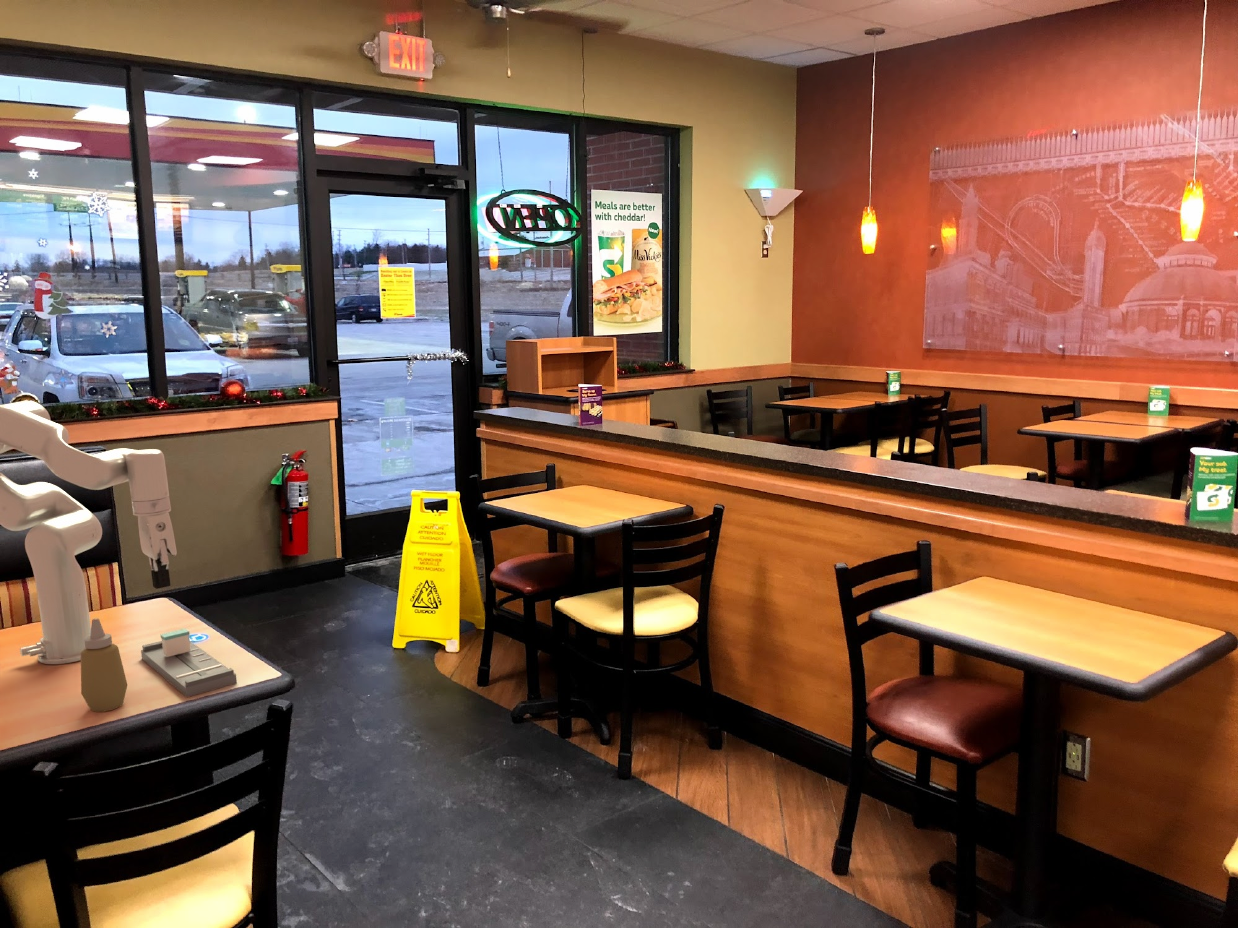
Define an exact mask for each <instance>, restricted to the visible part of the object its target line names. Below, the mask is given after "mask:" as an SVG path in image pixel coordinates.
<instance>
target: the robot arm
mask: <svg viewBox="0 0 1238 928" xmlns="http://www.w3.org/2000/svg"><path fill="white" fill-rule="evenodd" d="M69 441H70V434H69V431H68V429H67V428H66V427H65V426H64V425H62V424H60V423H56V422H54V421H52V420H51V416H50V413H49V412H48V410H47V409H46V408H45V407H44V406H43V405H41V404H40V403H38V402H35V401H29V400H25V401H24V400H23V401H16V402H11V403H2V404H0V454H3V453H5V452H7V451H11V450H12V449H14V450H16V451H19V452H22V453H24V454H26V455H29V456H31V457H33V458H36V459H39V460H41V461H43V462H44V464H45V466H46V467H47V468H48V469H49V470H50V471H51V473H53V474H54V475H55V476H56V477H58V478H59V479H61V480H63V481H66V482H68V483H71V484H73V485H76V486H78V487H81V488H84V489H88V490H92V491H93V490H94V491H96V490H97V491H99V490H105V489H107V488H110V487H112V486H117V485H120V484H123V483H126V482H127V483H128V486H129V492H130V498H131V499H130V500H131V507H132V515H133V516H135V517H137V522H138V524H137V526H138V533H139V543H140V548H141V552H142V554H144V555H145V556H147V557H148V560H149V561H148V562H149V566H150V569H151V570H150V573H151V581H152V586H153V588H154V589H156V590H158V589H162V588H168V587H170V586H171V578H170V577H171V576H170V571H169V564H170V560H169V556H168V555H170V556H172V557H175V556H177V554H178V552H177V546H176V539H175V535H174V533H175V532H174V529H173V525H172V520H171V517H170V512H171V511H172V507H171V500H170V491H169V490H170V489H169V484H168V483H169V482H168V475H167V468H166V460H165V455H164V453H163V452H162V450H160V449H157V448H155V449H154V448H152V449H151V448H149V449H148V448H147V449H139V450H138V449H131V448H114V449H110V450H105V451H103V452H98V453H95V454H91V453H87V452H84V451H81V450H79V449H77V448H74V447H73V446H71V445H69ZM0 526H2V527H3V528H4V529H7V530H9V531H13V532H18V531H19V532H20V531H24V530H27V529H30V528H31V529H30V530H29V531H28V532H27V533H26V537H25V539H24V548H25V552H26V554H27V557H28V560H29V562H30V565H31V568H32V572H33V576H34V581H35V589H36V595H37V601H38V602H37V603H38V607H39V614H40V615H39V616H40V623H41V629H42V631H41V632H42V636H43V637H40V638H39V640H40V641H39V642H35V644H33V645H27V646H23V647H20V648H19V649H20V651H19V652H20V655H21V657H24V656H29V657H34V656H37V659H38V662H39V663H41V664H46V665H63V664H69V663H75V662H79V661H80V662H81V652H82V651H83V650H84V649H85V648H86V647H85V641H84V640H85V639H86V638H87V637H89V636H90V634H91V625H92V623H91V617H90V610H89V602H88V594H87V589H86V588H87V587H86V581H85V575H84V572H83V569H82V568H81V566H80V564H79V563H78V561H77V559H76V557H75V556H77V555H79V554H81V553H83V552H85V551H88V550H90V549H93V548H94V547H95V546H97V545H98V543H100V541H101V539H102V537H103V536H102V535H103V528H102V524H101V522H100V521H99V519H98V518H97V517H96V515H95V513H94V514H93V513H92V511H90V510H89V509H88V508H86V507H85V506H84V505H83V504H82V503H80V502H79V501H78V500H76V499H75V498H73V497H72V496H71V495H69V493H67V492H66V491H64V490H63V489H62V488H61V487H59V486H57V485H55V484H52V483H50V482H49V483H48V482H47V481H46V482H45V481H36V482H35V481H34V482H31V483H28V484H22V485H21V484H17V483H16V482H14V481H13V480H11V479H10V478H8V477H7V476H6V475H5V474H3V473H2V472H1V471H0Z"/></svg>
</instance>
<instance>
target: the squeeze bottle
mask: <svg viewBox="0 0 1238 928" xmlns="http://www.w3.org/2000/svg"><path fill="white" fill-rule="evenodd" d="M101 623H102V622H101V621H100V619H99V618H92V620H91V634H90V636H89V637H87V638H86V639H85V640H84V641H85V647H86V648H85V649H84V650H83V651H82V652H81V660H80V682H81V683H80V690H81V692H80V693H81V696H82V697H83V699H84V700H85V703H86V704H87V706H88V709H89V710H90V711H91V712H94V713H96V712H97V713H102V712H108V711H112V710H115V709H117V708H120V707H121V706H122V705H123V703H124V701H125V697H126V692H127V689H128V681H127V677H126V674H125V670H124V669H125V668H124V665H123V662H122V661H123V660H122V658H121V653H120V649H119V647H118V645H117V644H115V643H113V639H112V634H110V633H105V631H104V627H103V626H102V624H101Z"/></svg>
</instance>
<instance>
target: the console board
mask: <svg viewBox="0 0 1238 928" xmlns="http://www.w3.org/2000/svg"><path fill="white" fill-rule="evenodd" d="M190 648H191V651H188V652H185V653H181V654H177V655H173V656H169V657H166V656H165V655H164V654H163V646H162V640H159V641H155V642H151V643H148V644H143V645H142V650H140V654H141V656H140V657H141V660H143V661H144V662H145V663H146V664H147V665H149V666H150V668H152V669H153V670H154V671H156V672H157V673H158V674H159V675H160V676H161V677H163V678H164V679H165V680H166V681H167V682H168V683H169V684H171V685H172V686H173V687H174V688H176V689H177V690H178V691H179V692H180V693H181V694H182V695H184V697H186V698H190V697H192V696H196V695H199V694H200V695H201V694H203V693H207V692H210V691H214V690H218V689H222V688H224V687H228V686H232V685H235V684H237V683H238V682H237V674H236V673H235V672H234V669H233V668H231V667H230V668H228V667H227V666H226V665H224V664H223V663H222V662H220V661H218V660H217V659H216V658H214V657H213V656H211V655H210V654H209V653H207V651H205V650H203V649H202V648H200V647H199V646H198V645H197V644H195V643H194V642H192V641H191V640H190ZM231 684H232V685H231Z"/></svg>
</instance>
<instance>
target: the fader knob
mask: <svg viewBox="0 0 1238 928" xmlns="http://www.w3.org/2000/svg"><path fill="white" fill-rule="evenodd" d="M160 638H161V641H162V646H163V654H164V655H165V656H166V657H169V656H173V655H177V654H181V653H185V652H188V651H191V648H190V641H191V639H190V631H189V630H188V629H187V628H183V629H178V630H173V631H169V632H164V633H162V634H161V633H160Z"/></svg>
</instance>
